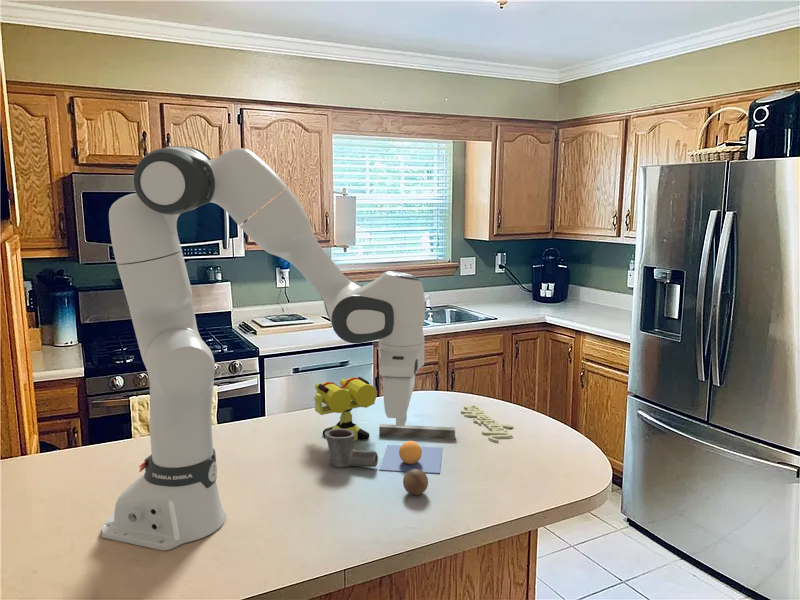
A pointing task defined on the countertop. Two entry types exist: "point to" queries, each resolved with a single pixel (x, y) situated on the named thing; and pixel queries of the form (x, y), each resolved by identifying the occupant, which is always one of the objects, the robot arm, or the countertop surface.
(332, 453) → the pipe
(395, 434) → the rail
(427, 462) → the blue mark
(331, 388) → the toy
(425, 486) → the walnut ball
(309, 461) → the countertop surface
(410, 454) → the orange ball
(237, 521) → the countertop surface
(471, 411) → the decorative sign
